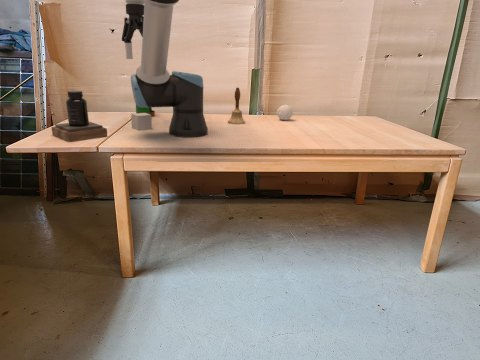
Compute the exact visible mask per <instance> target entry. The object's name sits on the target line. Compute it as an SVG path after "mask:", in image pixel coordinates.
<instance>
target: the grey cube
mask: <svg viewBox="0 0 480 360" xmlns="http://www.w3.org/2000/svg"><path fill="white" fill-rule="evenodd" d="M130 115H131V117H130V118H131V128H132V129H133V130H136V131H147V130H153V125H152V124H153V121H152V118H153V117H151V115H150V114H147V113H136V112H134V113H131V114H130Z"/></svg>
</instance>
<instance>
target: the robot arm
mask: <svg viewBox="0 0 480 360" xmlns="http://www.w3.org/2000/svg"><path fill="white" fill-rule="evenodd" d="M124 1H125V3H126V4H125V14H126V15H128V17H124V18H123V19H124V21H123V22H124V25H123V30H122V35H121V41H122V42H124V45H125V46H124V47H125V60H133V57H134V56H133V43H132V39H133V36H134V34H135V32H136V30H138V31H139V33H140V36H141V38H142V41H141V58H140V59H141V60H140V61H141V62H140V65H139V66H138V67H136V70H135V73H134V74H131V75H130V85H131V90H132V95H133V100H134V104H135V106H136V105H137V106H138V107H143V108H149V107H152V108H172V116H171V119H170V124H169V127H168V134H170V135H171V136H175V137H183V138H192V137H193V138H194V137H203V136H206V135H208V131H209V130H208V129H209V128H208V126H207V123H206V119H205V116H204V89H205V88H204V80H203V77H202V76H201V75H199V74H195V73H191V72H190V73H189V72H184V71H176V70H173V71H171V73H170V72H169V70H168V69H167V66H168V56H169V50H170V49H169V47H170V39H171V31H172V29H171V28H172V21H173V12H174V5H176V4H178V3H179V1H180V0H124Z"/></svg>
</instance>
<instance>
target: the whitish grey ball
mask: <svg viewBox="0 0 480 360" xmlns="http://www.w3.org/2000/svg"><path fill="white" fill-rule="evenodd" d="M293 110H294V109H293V107H292V106H291V105H288V104H283V105H280V106H279V107H278V109H277V110H276V115H277V118H279V120H281V121H288V120H290V119H291V118H292V116H293V115H294V114H293V113H294V112H293Z"/></svg>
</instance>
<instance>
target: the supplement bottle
mask: <svg viewBox="0 0 480 360" xmlns="http://www.w3.org/2000/svg"><path fill="white" fill-rule="evenodd" d="M67 97H68V99H66V101H65V107H66V113H67V114H66V115H67V121H68V122H67V123H69V125H70V126H75V127H79V126H86V125H88V124H89V122H90V121H89V113H88V112H89V111H88V110H89V109H88V103H87V100H86V99H85V98H83V97H84V95H83V91H81V90H71V91H70V90H69V91H67Z"/></svg>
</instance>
